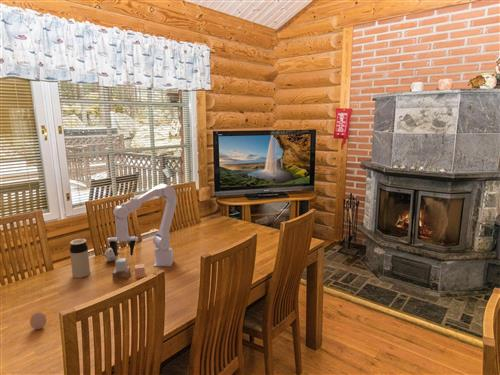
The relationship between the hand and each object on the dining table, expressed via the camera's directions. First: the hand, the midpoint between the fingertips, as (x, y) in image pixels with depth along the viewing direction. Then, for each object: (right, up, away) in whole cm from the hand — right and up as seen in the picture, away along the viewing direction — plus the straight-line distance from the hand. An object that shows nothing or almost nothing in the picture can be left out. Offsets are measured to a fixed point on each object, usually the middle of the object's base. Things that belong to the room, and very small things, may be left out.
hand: (124, 255), depth 171 cm
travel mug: (-22, -10, 0) cm, 24 cm away
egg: (-15, -19, -44) cm, 51 cm away
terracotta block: (+8, -10, -1) cm, 13 cm away
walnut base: (-1, -11, -2) cm, 11 cm away
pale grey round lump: (-13, -7, +17) cm, 22 cm away
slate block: (0, -7, -3) cm, 7 cm away
